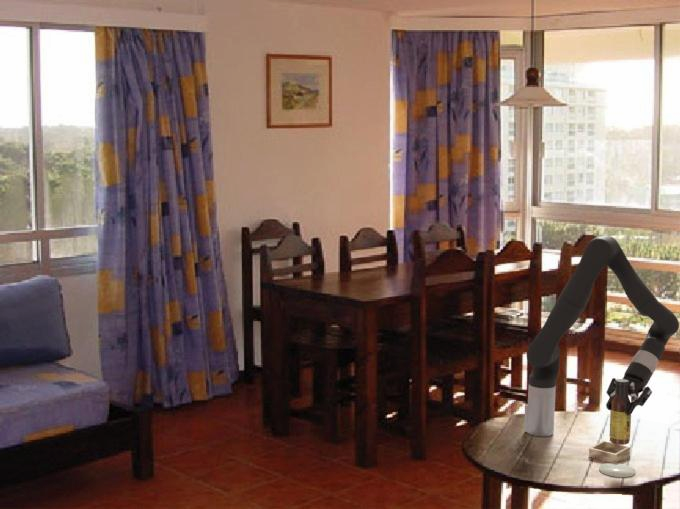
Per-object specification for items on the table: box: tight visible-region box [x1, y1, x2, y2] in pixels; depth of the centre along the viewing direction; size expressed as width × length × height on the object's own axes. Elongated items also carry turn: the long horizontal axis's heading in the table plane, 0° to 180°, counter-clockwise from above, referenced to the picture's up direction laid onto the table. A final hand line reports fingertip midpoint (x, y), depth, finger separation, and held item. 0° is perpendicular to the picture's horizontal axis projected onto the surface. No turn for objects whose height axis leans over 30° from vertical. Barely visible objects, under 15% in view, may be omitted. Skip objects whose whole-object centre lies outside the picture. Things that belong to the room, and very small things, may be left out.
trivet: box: [598, 462, 636, 478], centre depth 331 cm, size 11×11×1 cm
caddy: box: [588, 440, 631, 463], centre depth 344 cm, size 9×10×3 cm
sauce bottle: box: [609, 378, 632, 446], centre depth 328 cm, size 7×6×20 cm
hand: (617, 411), depth 327 cm, fingers closed on sauce bottle, 6 cm apart
